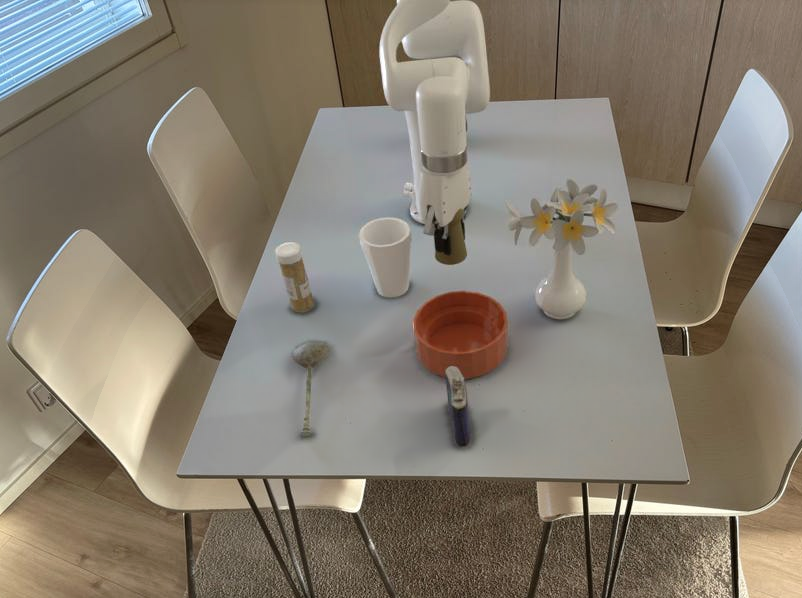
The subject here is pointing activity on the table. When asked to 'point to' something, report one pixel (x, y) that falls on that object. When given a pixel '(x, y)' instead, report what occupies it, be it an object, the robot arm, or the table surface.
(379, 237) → the foam cup
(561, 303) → the flower vase
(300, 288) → the sprinkles bottle
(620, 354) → the table surface
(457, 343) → the orange plant pot
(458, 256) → the olive peg figure
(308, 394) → the soupspoon
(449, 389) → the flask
